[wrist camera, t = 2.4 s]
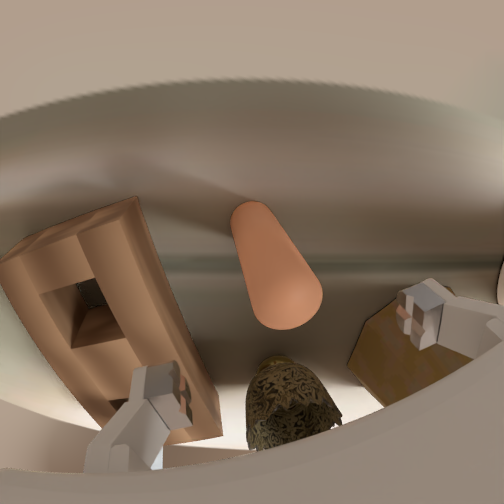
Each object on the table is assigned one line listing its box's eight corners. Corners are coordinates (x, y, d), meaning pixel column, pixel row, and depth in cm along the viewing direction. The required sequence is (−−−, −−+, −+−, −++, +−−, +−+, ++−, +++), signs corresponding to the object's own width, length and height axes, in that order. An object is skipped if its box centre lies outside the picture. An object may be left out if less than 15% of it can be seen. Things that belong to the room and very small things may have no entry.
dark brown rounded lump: (248, 330, 26) (266, 404, 19) (326, 339, 28) (359, 404, 21) (226, 389, 29) (236, 458, 21) (296, 394, 30) (317, 456, 23)
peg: (268, 196, 22) (318, 259, 13) (276, 235, 23) (325, 318, 14) (225, 207, 21) (244, 280, 12) (236, 247, 23) (260, 337, 14)
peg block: (136, 196, 20) (119, 219, 16) (218, 395, 29) (223, 436, 24) (24, 237, 20) (-8, 267, 15) (127, 410, 28) (122, 449, 24)
